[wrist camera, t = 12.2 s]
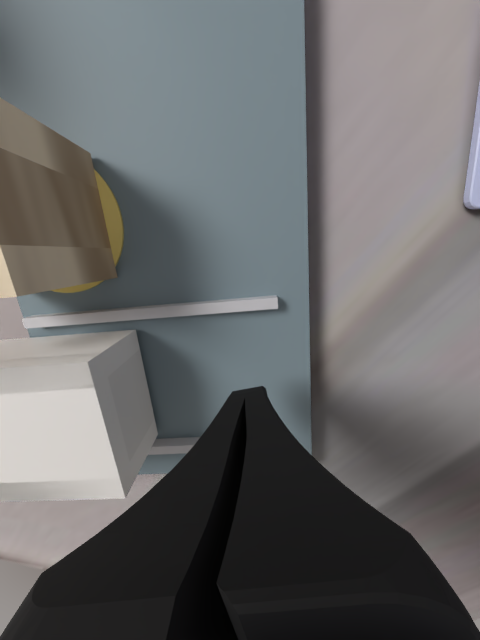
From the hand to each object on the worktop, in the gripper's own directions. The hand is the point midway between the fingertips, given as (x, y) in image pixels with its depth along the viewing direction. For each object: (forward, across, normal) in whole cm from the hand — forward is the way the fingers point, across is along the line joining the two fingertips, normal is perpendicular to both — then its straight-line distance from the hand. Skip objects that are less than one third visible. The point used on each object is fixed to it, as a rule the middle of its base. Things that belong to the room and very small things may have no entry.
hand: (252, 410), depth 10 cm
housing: (+3, +9, -1) cm, 9 cm away
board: (+4, +3, -5) cm, 8 cm away
